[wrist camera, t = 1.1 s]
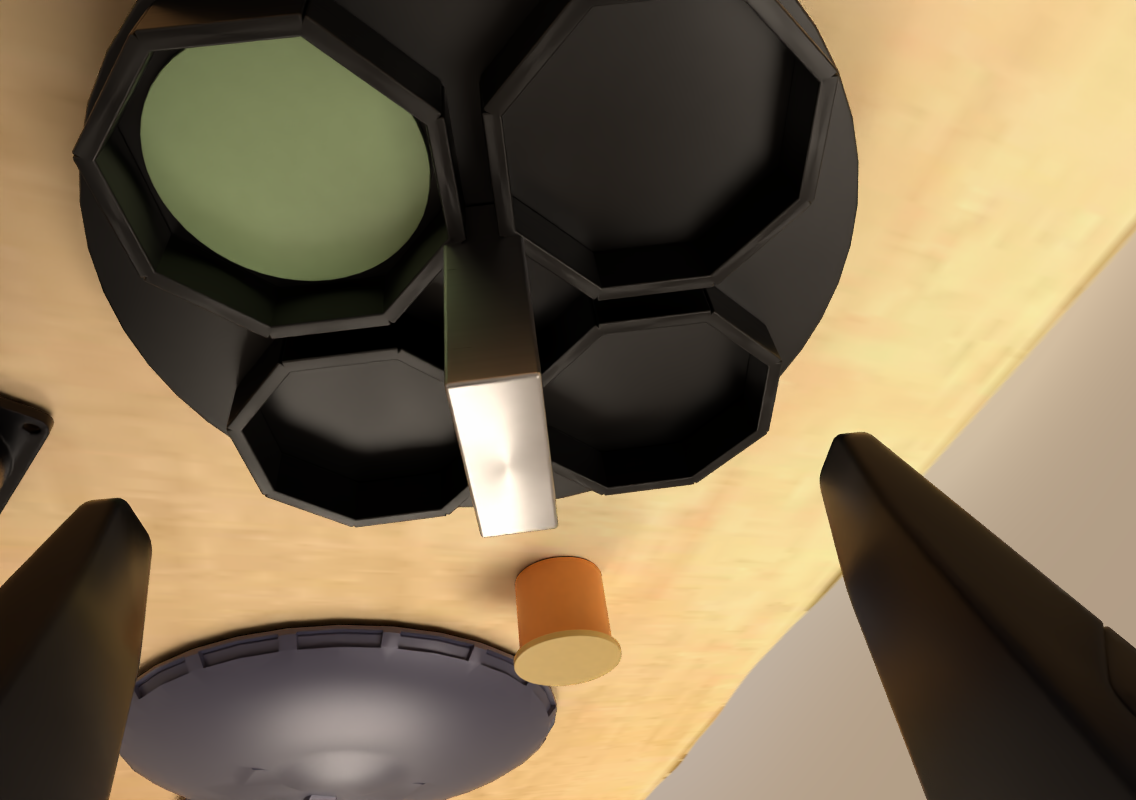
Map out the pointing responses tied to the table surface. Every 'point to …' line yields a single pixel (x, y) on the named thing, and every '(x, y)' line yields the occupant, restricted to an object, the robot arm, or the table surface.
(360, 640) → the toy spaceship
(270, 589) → the table surface
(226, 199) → the cup holder
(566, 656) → the coffee pod
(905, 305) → the table surface
